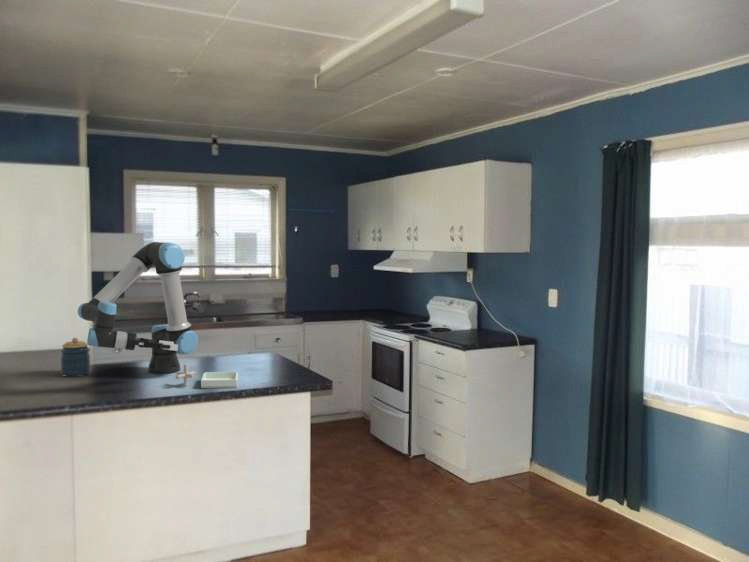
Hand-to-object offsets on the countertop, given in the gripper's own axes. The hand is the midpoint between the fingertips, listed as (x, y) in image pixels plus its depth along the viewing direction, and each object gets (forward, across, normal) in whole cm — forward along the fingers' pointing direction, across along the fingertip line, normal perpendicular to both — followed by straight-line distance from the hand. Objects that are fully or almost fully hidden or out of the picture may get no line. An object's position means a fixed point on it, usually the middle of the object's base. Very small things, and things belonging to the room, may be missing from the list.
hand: (175, 346), depth 290 cm
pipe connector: (+7, +1, -17) cm, 19 cm away
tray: (+22, +3, -15) cm, 27 cm away
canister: (-38, -38, -22) cm, 58 cm away
